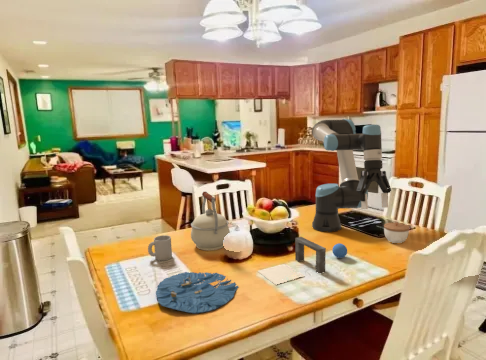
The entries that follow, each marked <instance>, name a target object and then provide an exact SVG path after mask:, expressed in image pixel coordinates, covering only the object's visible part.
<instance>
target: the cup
mask: <svg viewBox="0 0 486 360" xmlns="http://www.w3.org/2000/svg"><path fill="white" fill-rule="evenodd" d="M171 237H172V236H170V235H166V234H163V235H157V236H155V237H154V238H153V241H151V242H149V244H148V246H147V251H148V254H149V256H151V257H154V258H155V260H156V261H160V260H163V261H168V260H171V258H172V257H173V249H172V238H171ZM153 246H154V252H153V249H152V248H153ZM167 259H168V260H167Z"/></svg>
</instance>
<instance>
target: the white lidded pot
mask: <svg viewBox="0 0 486 360" xmlns="http://www.w3.org/2000/svg"><path fill="white" fill-rule="evenodd" d="M383 227H384V228H383V233H384V237H385V238H386V239H387V241H388V242H389V241H390V242H392V243H391V244H393V243H402V242H403V243H404V242H405V241H406V240H407V239H408V237H409V232H410V226H409V225H407V224H404V223H400V222H397V221H396V222H387V223H386V222H385V224H383ZM390 242H389V243H390ZM403 243H402V244H403Z"/></svg>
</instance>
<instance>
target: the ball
mask: <svg viewBox="0 0 486 360" xmlns="http://www.w3.org/2000/svg"><path fill="white" fill-rule="evenodd" d="M347 253H348V248H347V247H346V245H345V244H343V243H339V242H338V243H336V244H334V246H332V254H333V256H335V257H336V258H337V259H342V258H345V256H347Z"/></svg>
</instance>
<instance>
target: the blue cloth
mask: <svg viewBox="0 0 486 360" xmlns="http://www.w3.org/2000/svg"><path fill="white" fill-rule="evenodd" d="M225 279H226V275H224V274H221V273H218V272H213V273H212V272H198V273H197V272H189V271H188V272H187V271H185V272H180V273H178V274H172V275H171V276H169V277H164V278H163V280H162V281H160V282H159V284H157V287H156V288H157V289H156V290H155V297H156V299H157V301H158V303H159V305H160V306H161V307H166V308H169V309H172V310H177V311H181V312H186V313H192V314H199V313H205V312H210V311H214V310H216V309H219V308H220V307H222V306H224V305H226V304H227V303H229V302H230V301H231V300H233V298H234V297H235V293H236V291H237V290H238V289H239V288H240V286H239V285H237V283H236V282H235V281H234V282H232V279H229V278H227V279H226V280H225ZM224 280H225V281H224ZM216 282H217V283H216ZM212 283H216V284H213V285H212Z"/></svg>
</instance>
